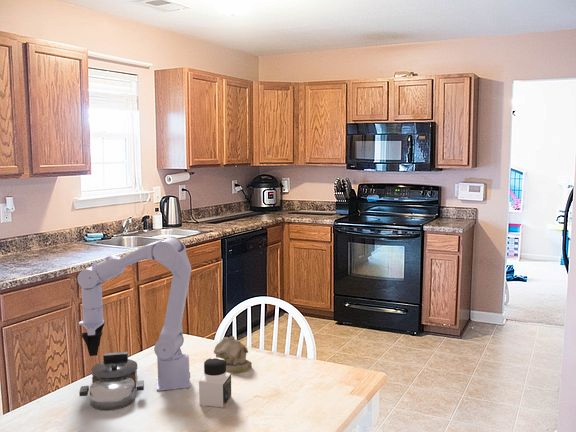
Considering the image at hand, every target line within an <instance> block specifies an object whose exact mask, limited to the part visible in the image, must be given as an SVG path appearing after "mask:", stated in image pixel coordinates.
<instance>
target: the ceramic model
mask: <svg viewBox="0 0 576 432" xmlns="http://www.w3.org/2000/svg"><path fill="white" fill-rule="evenodd" d="M248 353H249V351H248V347H247V346H246V345H245V344H243V343H242V342H241V340H239V339H236V338H235V336H233V335H230V336H229V337H228V336H225V337H222V339H221V340H220V341H219V342H218V343H217V344H216V345H215V347H214V349H213V354H215V357H217V358H222V359H224V360H225V361H226V373H231V374H234V375H235V374H236V375H239V374H243V373H246V372H248V371H249V370H251V369H252V365H253V363H252V362H251V361H250V360H248V359H247V354H248Z"/></svg>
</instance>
